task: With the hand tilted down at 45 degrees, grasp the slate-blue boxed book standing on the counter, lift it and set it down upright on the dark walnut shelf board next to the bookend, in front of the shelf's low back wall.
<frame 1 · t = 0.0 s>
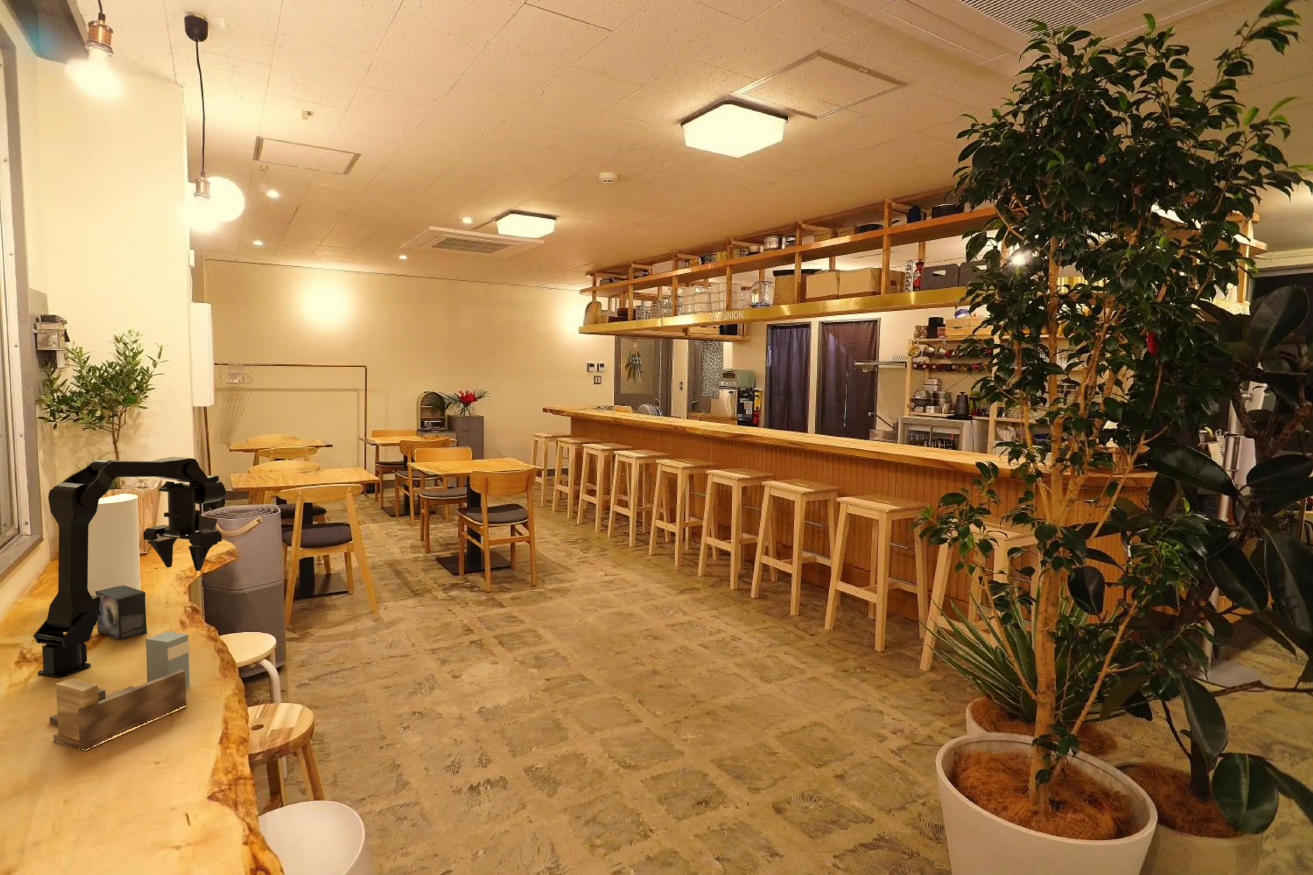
hand: (183, 568, 175), 15 cm above the table, tool pointing down, fingers open, 9 cm apart
shelf: (118, 714, 131), on the table
small box: (121, 633, 170), on the table
cylinder: (102, 598, 195), on the table
book: (168, 689, 141), on the table
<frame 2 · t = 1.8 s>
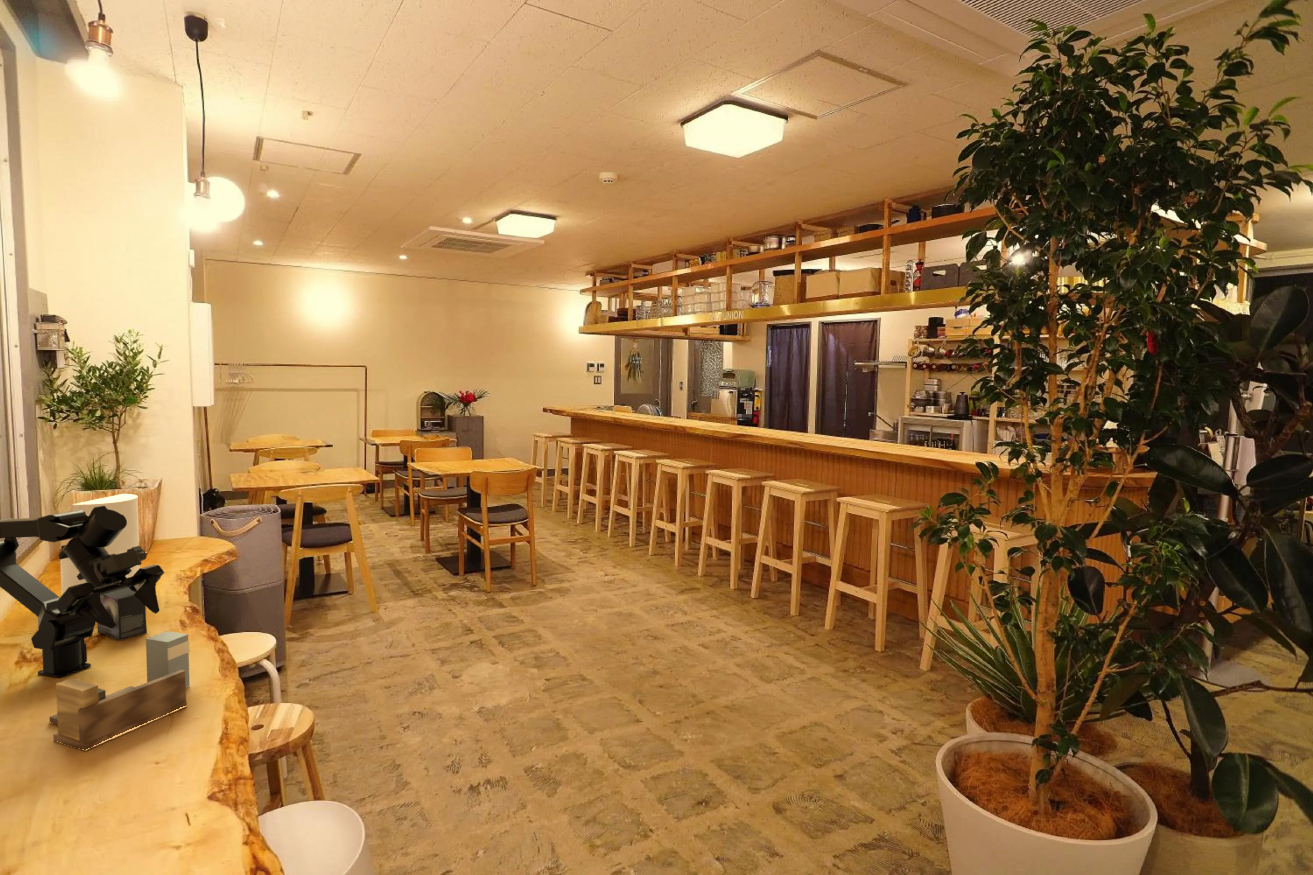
hand: (136, 619, 143), 13 cm above the table, tool tilted 45°, fingers open, 9 cm apart
nothing on the table moved.
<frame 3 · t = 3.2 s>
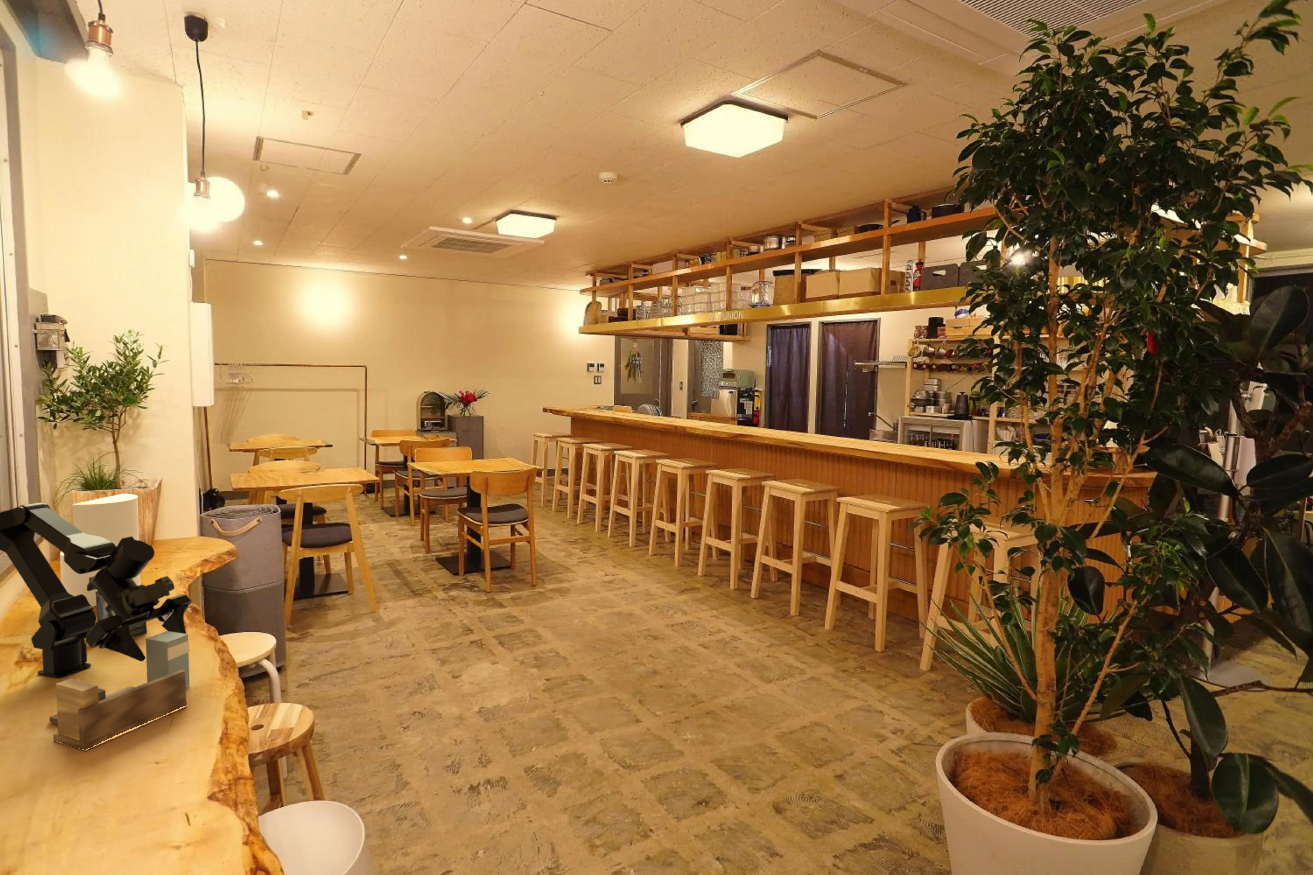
hand: (165, 651, 141), 8 cm above the table, tool tilted 45°, fingers open, 9 cm apart
nothing on the table moved.
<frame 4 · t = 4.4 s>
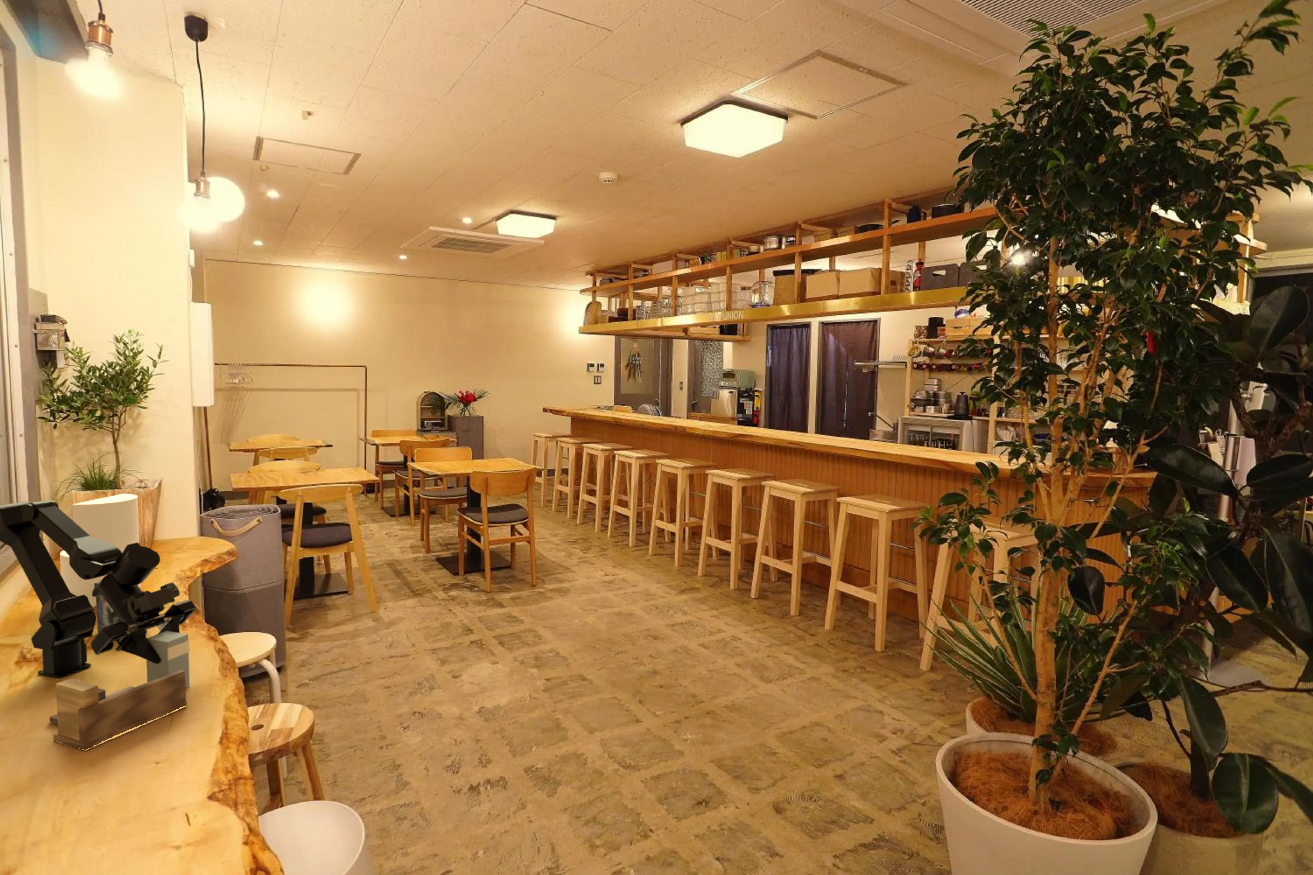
hand: (170, 657, 141), 7 cm above the table, tool tilted 45°, fingers closed on book, 4 cm apart
book: (168, 688, 141), on the table, touching gripper
everything else where it was.
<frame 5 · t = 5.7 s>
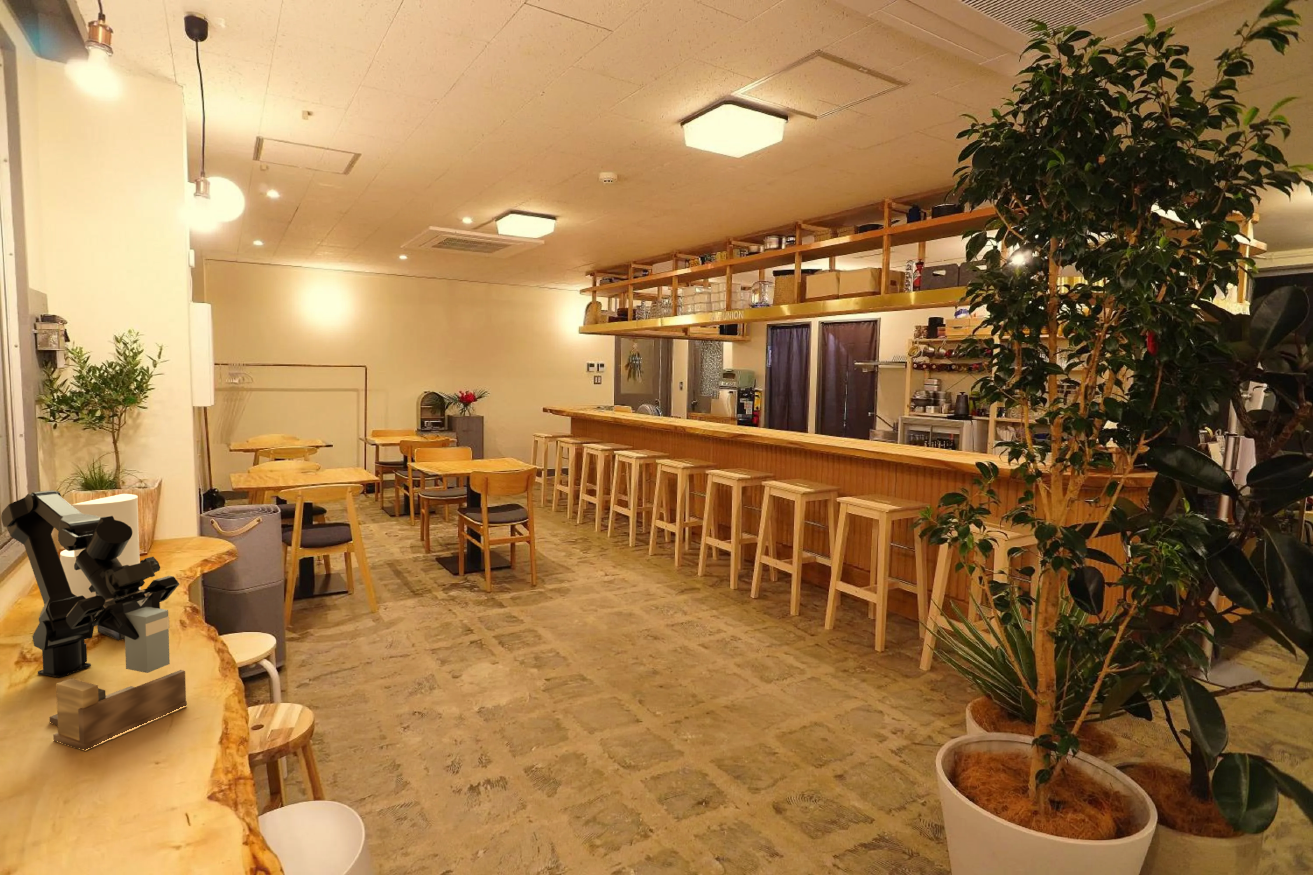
hand: (149, 633, 136), 13 cm above the table, tool tilted 45°, fingers closed on book, 4 cm apart
book: (147, 666, 137), point 6 cm above the table, touching gripper
everything else where it was.
when the fingers open (9 cm above the table, at t = 7.2 s): book stays where it is, resting on shelf.
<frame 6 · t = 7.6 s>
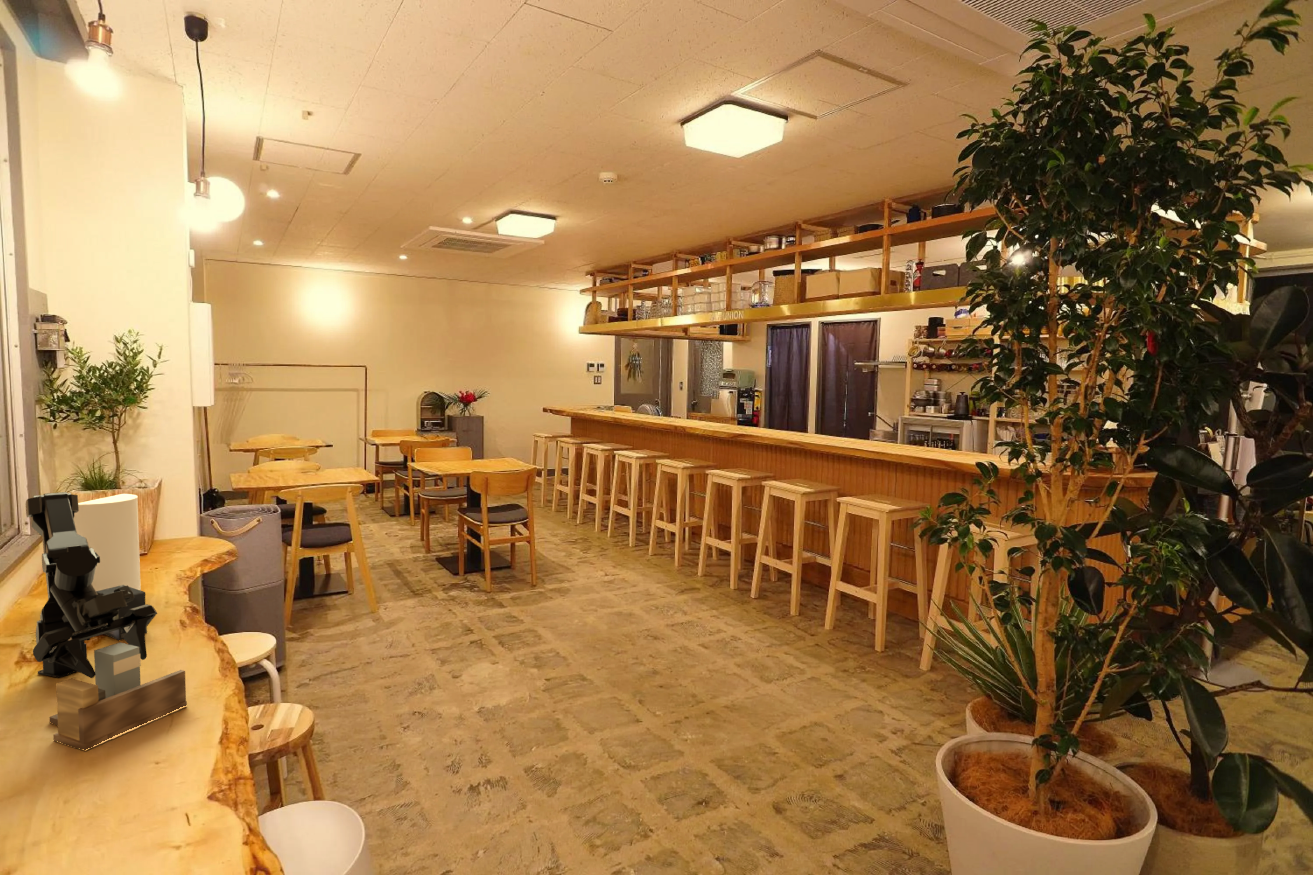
hand: (120, 667, 131), 9 cm above the table, tool tilted 45°, fingers open, 9 cm apart
book: (118, 705, 132), point 1 cm above the table, touching shelf
everything else where it was.
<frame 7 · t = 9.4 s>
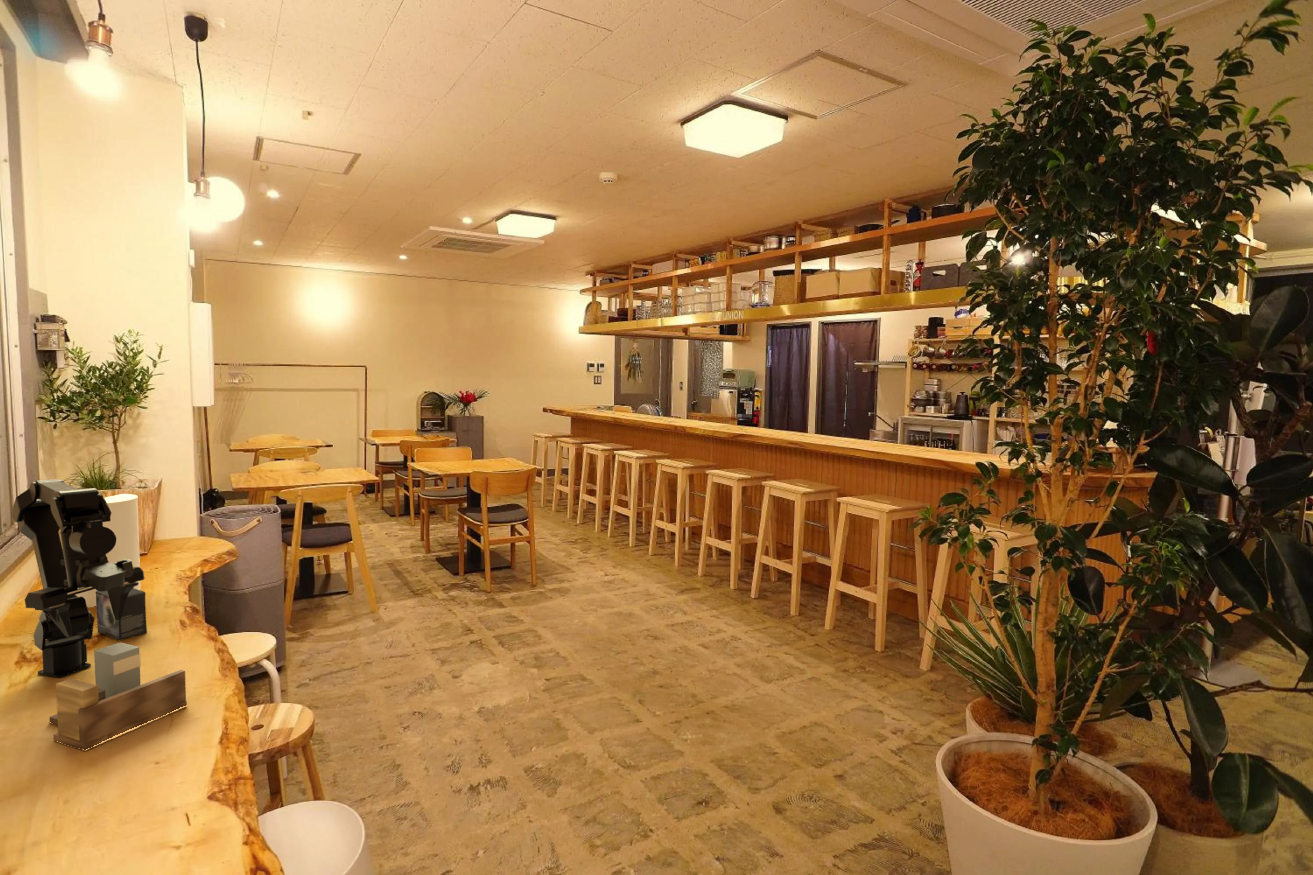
hand: (94, 628, 140), 12 cm above the table, tool pointing down, fingers open, 9 cm apart
nothing on the table moved.
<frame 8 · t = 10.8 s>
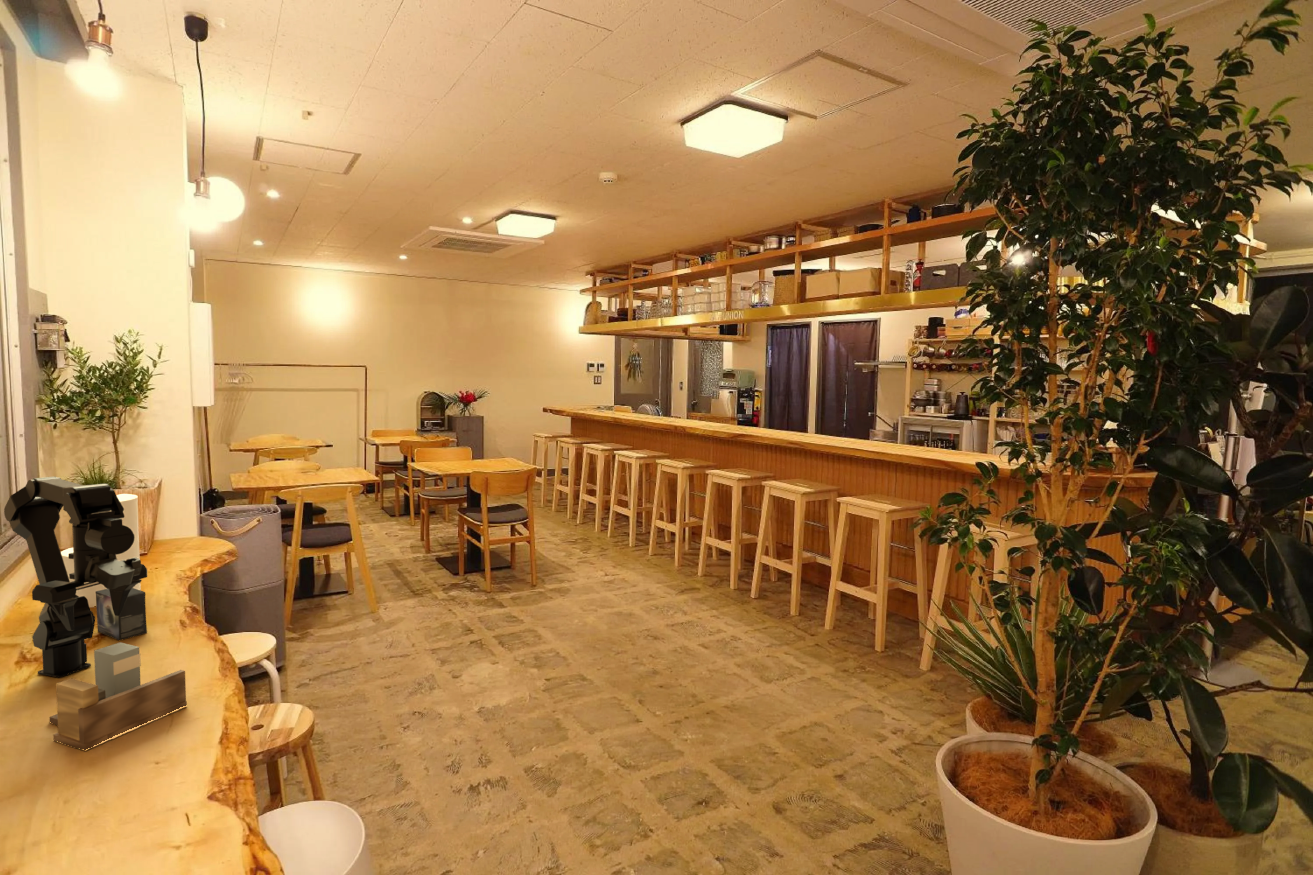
hand: (94, 622, 141), 13 cm above the table, tool pointing down, fingers open, 9 cm apart
nothing on the table moved.
at the end: book inside the target area on the shelf (1.2 cm from its centre), point 1.2 cm above the shelf's base; book tilted 0°; book touching shelf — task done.
